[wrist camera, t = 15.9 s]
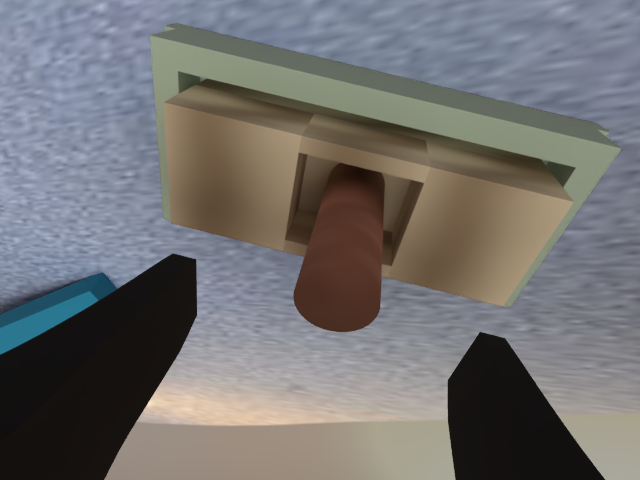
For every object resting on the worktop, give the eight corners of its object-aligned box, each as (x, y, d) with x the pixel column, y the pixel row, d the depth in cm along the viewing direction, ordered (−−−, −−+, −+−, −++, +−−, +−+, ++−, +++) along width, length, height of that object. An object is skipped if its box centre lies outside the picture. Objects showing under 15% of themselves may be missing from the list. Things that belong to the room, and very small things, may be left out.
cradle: (598, 124, 15) (635, 151, 13) (506, 269, 20) (521, 309, 18) (176, 23, 16) (136, 32, 14) (182, 188, 21) (153, 216, 18)
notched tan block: (537, 155, 16) (574, 202, 12) (484, 248, 19) (503, 306, 15) (210, 76, 16) (163, 102, 13) (209, 180, 19) (170, 223, 16)
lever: (128, 238, 30) (-56, 316, 32) (89, 290, 24) (-136, 384, 26) (176, 300, 33) (6, 368, 35) (153, 360, 27) (-51, 439, 29)
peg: (394, 170, 15) (394, 286, 10) (372, 216, 17) (361, 341, 11) (338, 150, 15) (306, 256, 10) (321, 198, 17) (284, 315, 11)
